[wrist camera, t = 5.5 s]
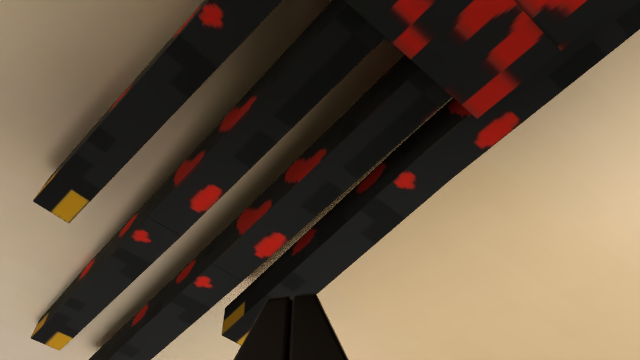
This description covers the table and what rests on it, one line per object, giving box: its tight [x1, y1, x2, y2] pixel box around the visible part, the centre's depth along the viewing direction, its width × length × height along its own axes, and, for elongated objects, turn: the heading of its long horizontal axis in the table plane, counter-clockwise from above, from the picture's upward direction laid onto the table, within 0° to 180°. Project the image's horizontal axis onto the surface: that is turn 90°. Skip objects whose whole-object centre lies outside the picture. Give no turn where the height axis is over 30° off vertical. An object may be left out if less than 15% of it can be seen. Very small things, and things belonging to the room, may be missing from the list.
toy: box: [31, 0, 640, 360], centre depth 15 cm, size 8×5×30 cm
